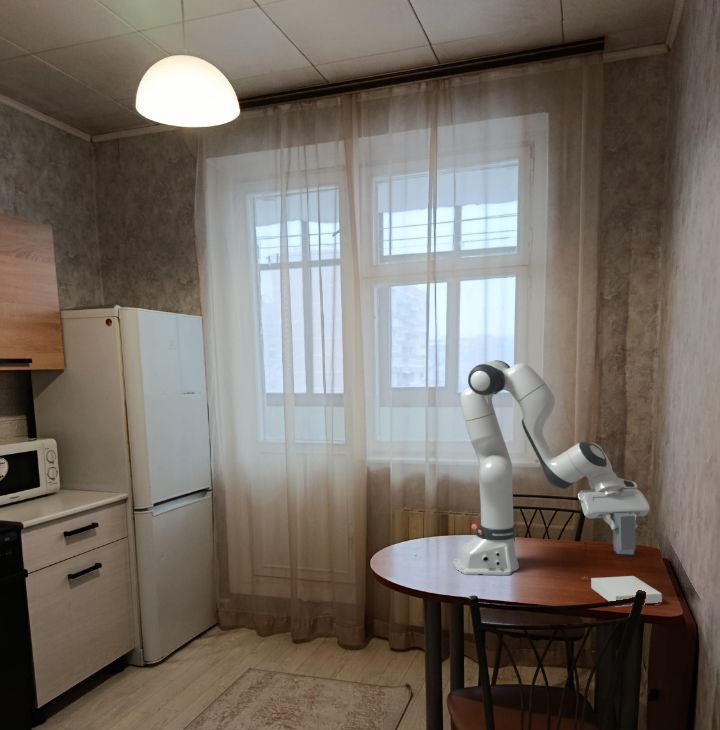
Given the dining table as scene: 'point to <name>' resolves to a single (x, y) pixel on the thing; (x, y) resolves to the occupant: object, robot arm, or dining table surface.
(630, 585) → the plinth
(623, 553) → the supplement box
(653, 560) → the dining table surface
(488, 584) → the dining table surface
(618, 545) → the grey rectangular block
